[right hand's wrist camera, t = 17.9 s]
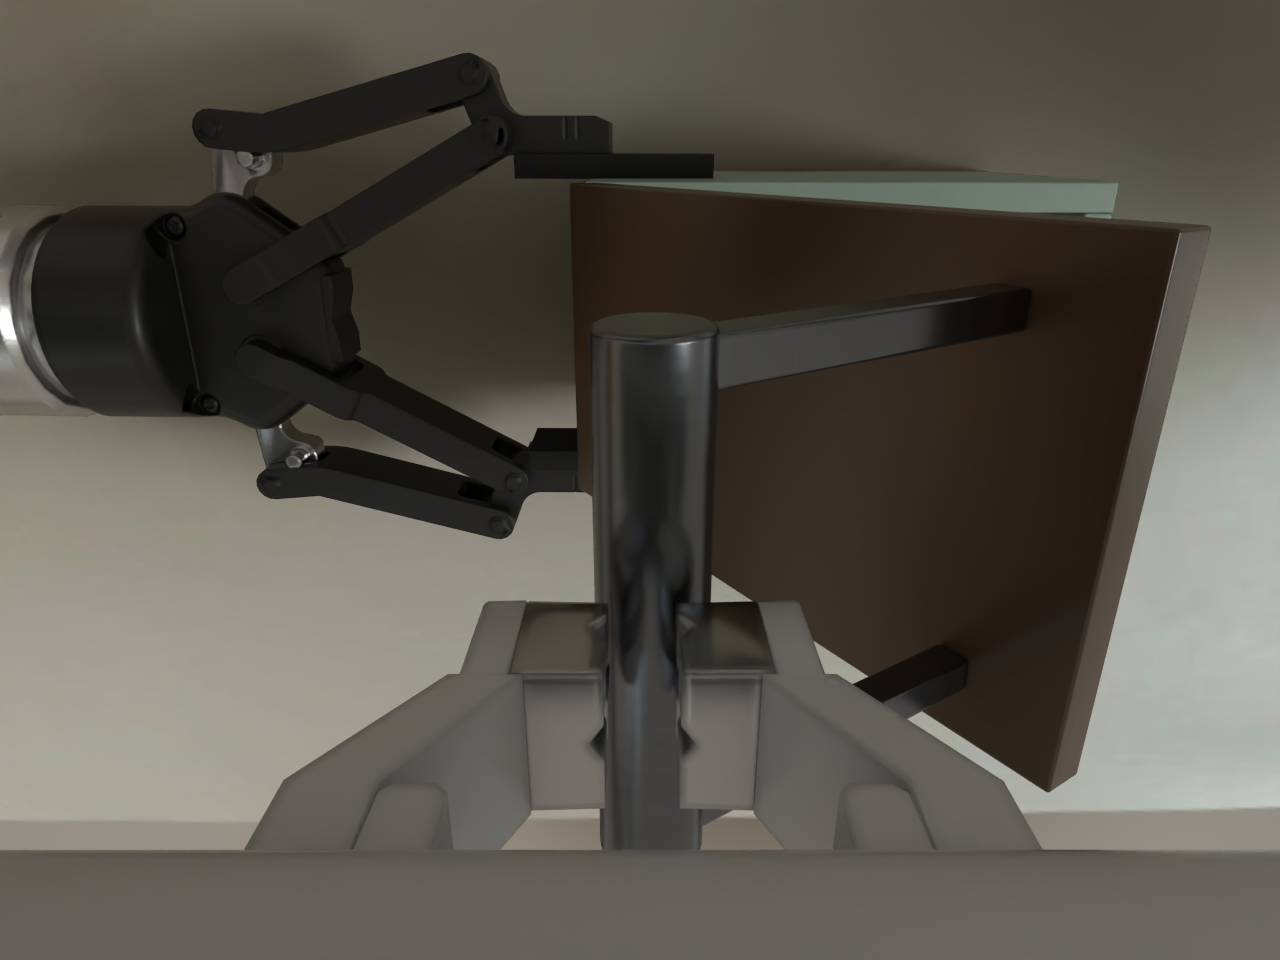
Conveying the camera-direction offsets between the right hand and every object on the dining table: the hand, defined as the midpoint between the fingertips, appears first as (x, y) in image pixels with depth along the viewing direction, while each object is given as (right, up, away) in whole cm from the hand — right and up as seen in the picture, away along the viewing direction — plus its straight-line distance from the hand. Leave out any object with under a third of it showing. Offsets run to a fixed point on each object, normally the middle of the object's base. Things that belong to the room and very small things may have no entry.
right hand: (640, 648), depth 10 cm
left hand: (+2, +8, +20) cm, 22 cm away
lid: (+3, +4, +9) cm, 11 cm away
